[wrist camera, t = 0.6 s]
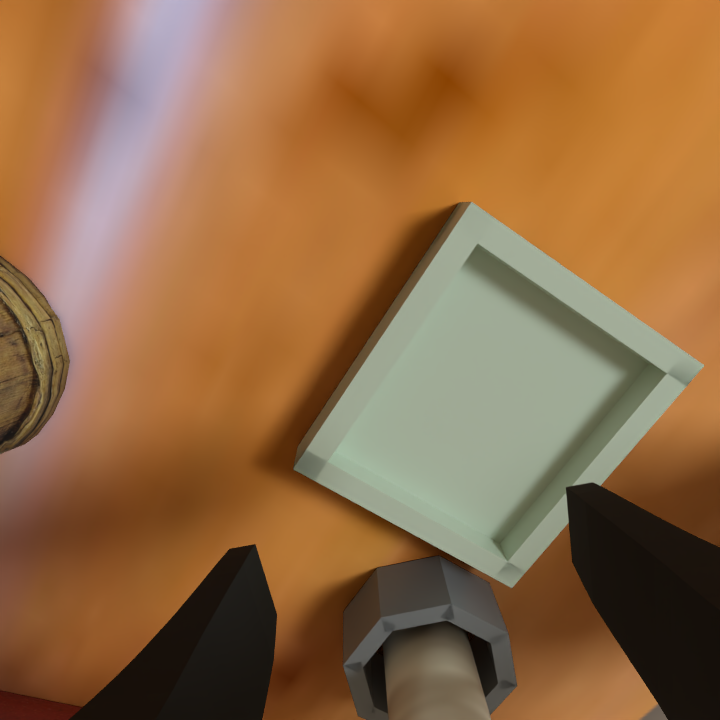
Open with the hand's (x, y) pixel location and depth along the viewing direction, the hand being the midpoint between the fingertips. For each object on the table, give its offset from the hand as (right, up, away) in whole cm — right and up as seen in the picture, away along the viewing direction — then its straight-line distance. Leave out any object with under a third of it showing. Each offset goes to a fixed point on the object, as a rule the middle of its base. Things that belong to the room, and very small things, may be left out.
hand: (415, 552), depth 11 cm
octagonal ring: (+2, -8, +13) cm, 16 cm away
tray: (+4, +3, +10) cm, 11 cm away
